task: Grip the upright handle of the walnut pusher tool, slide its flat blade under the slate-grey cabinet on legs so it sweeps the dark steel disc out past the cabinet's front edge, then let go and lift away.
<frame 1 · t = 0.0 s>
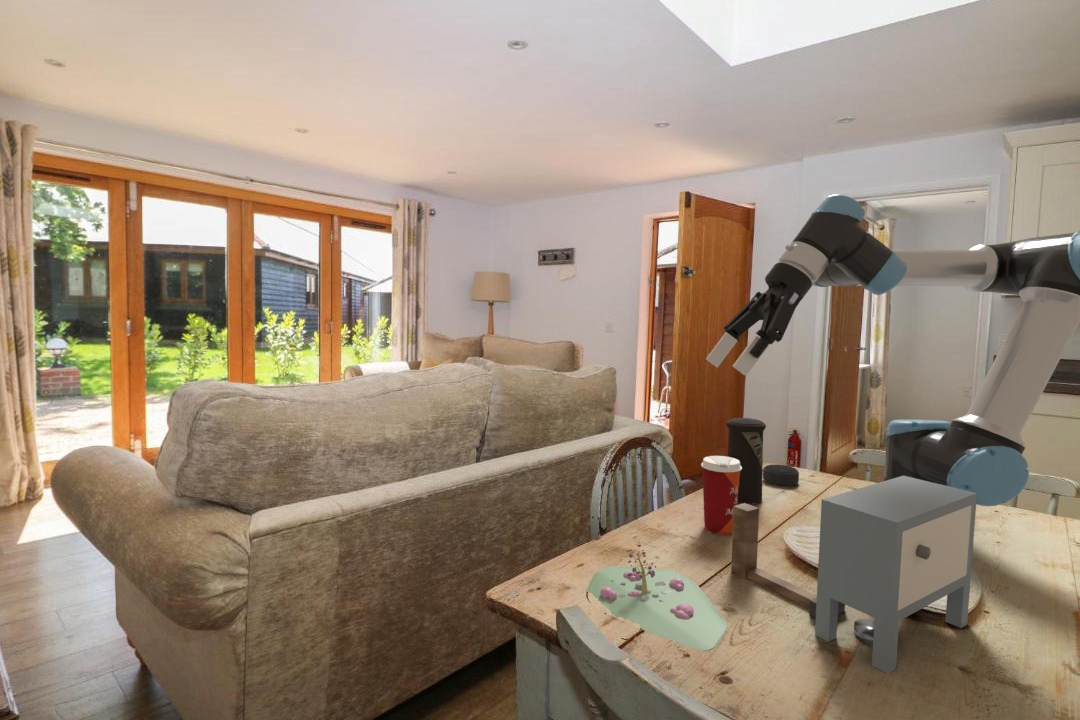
hand: (724, 367, 103), 36 cm above the table, tool tilted 35°, fingers open, 13 cm apart
cabinet: (892, 629, 82), on the table
pusher tool: (743, 572, 99), on the table
miniature garden model: (659, 608, 89), on the table
coffee cup: (719, 529, 119), on the table
smart speaker: (780, 483, 152), on the table
steel disc: (873, 638, 80), on the table
container: (743, 499, 138), on the table
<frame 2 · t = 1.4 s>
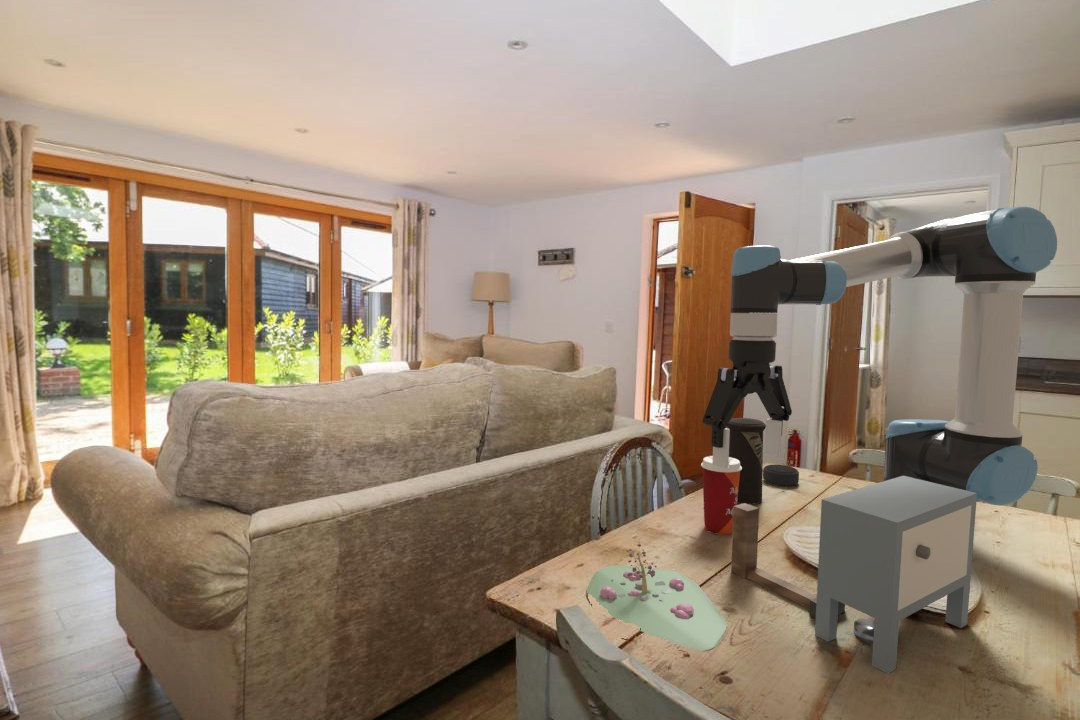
hand: (747, 460, 98), 20 cm above the table, tool pointing down, fingers open, 13 cm apart
nothing on the table moved.
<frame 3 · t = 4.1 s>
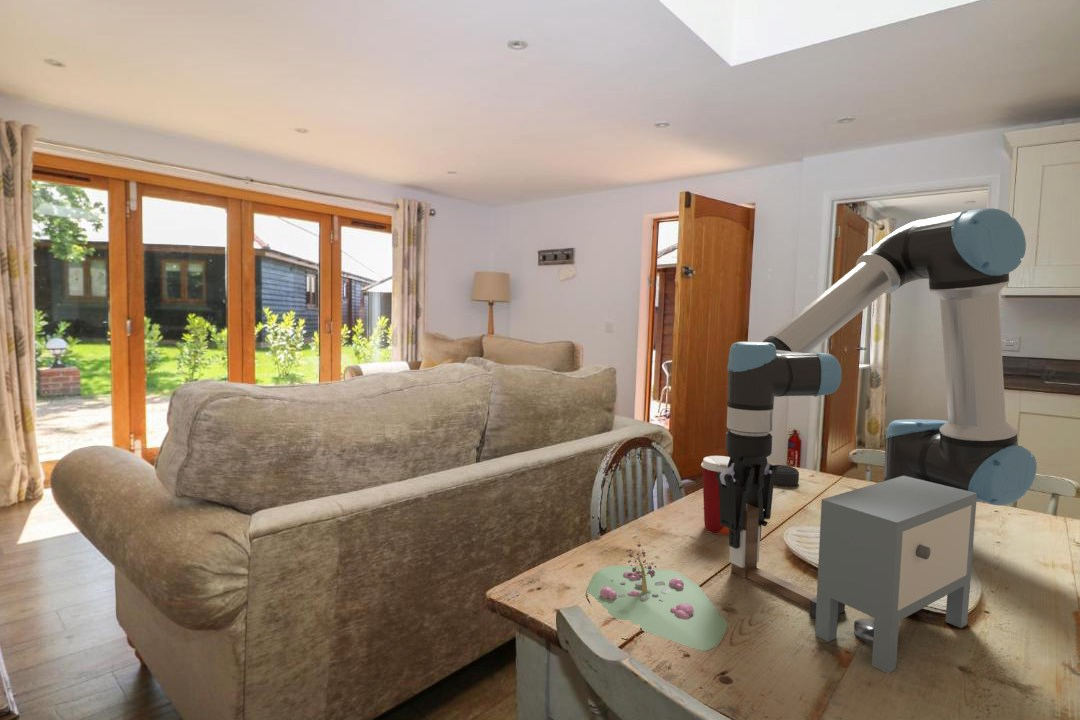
hand: (744, 561, 99), 2 cm above the table, tool pointing down, fingers closed on pusher tool, 3 cm apart
pusher tool: (743, 572, 99), on the table, touching gripper
everything else where it was.
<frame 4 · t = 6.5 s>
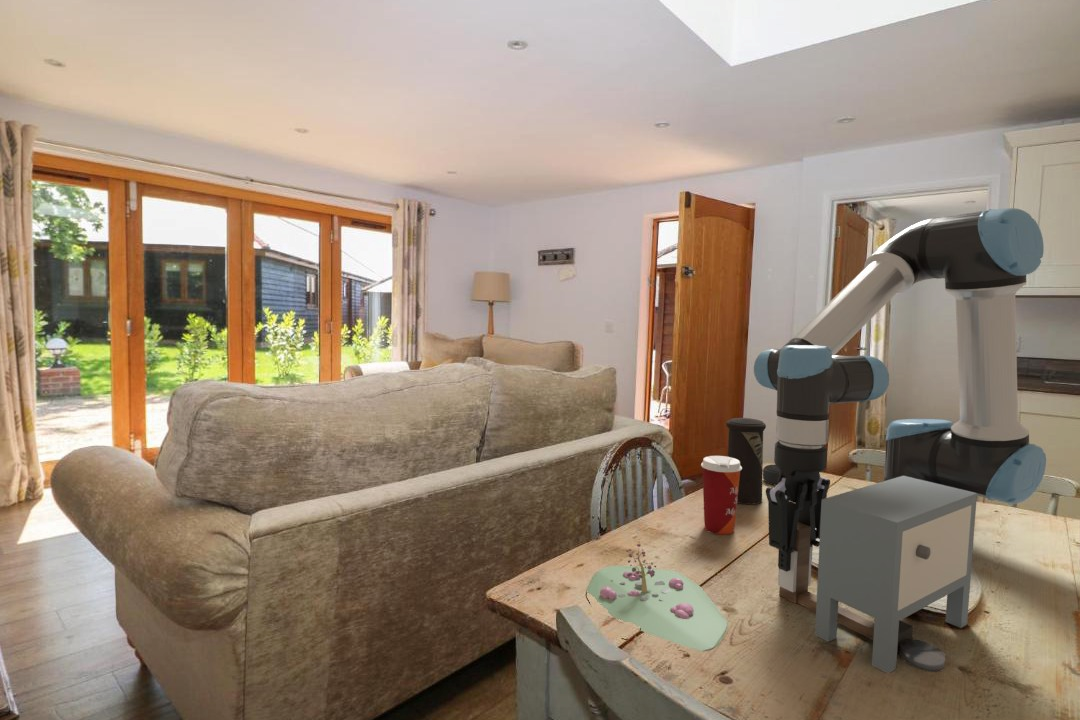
hand: (794, 585, 91), 2 cm above the table, tool pointing down, fingers closed on pusher tool, 3 cm apart
pusher tool: (793, 596, 91), on the table, touching gripper
steel disc: (921, 660, 75), on the table
everything else where it was.
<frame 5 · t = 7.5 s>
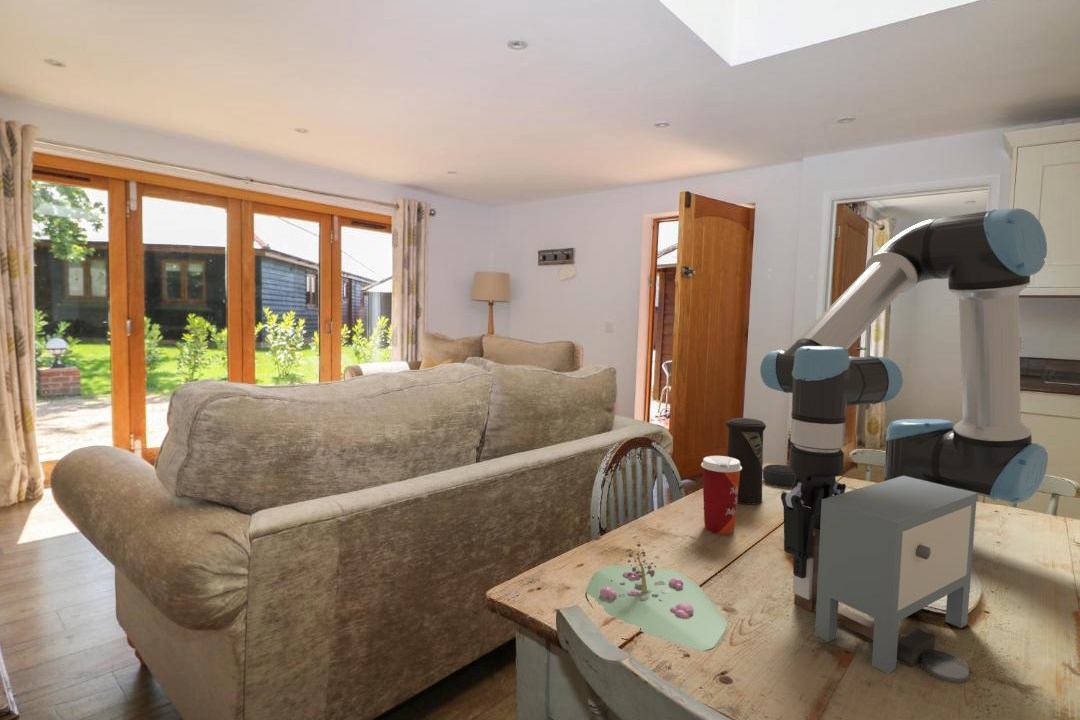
hand: (809, 592, 89), 2 cm above the table, tool pointing down, fingers closed on pusher tool, 3 cm apart
pusher tool: (808, 604, 89), on the table, touching gripper
steel disc: (944, 672, 73), on the table
everything else where it was.
when the fingers open (2 cm above the table, at t = 8.3 s): pusher tool stays where it is, on the table.
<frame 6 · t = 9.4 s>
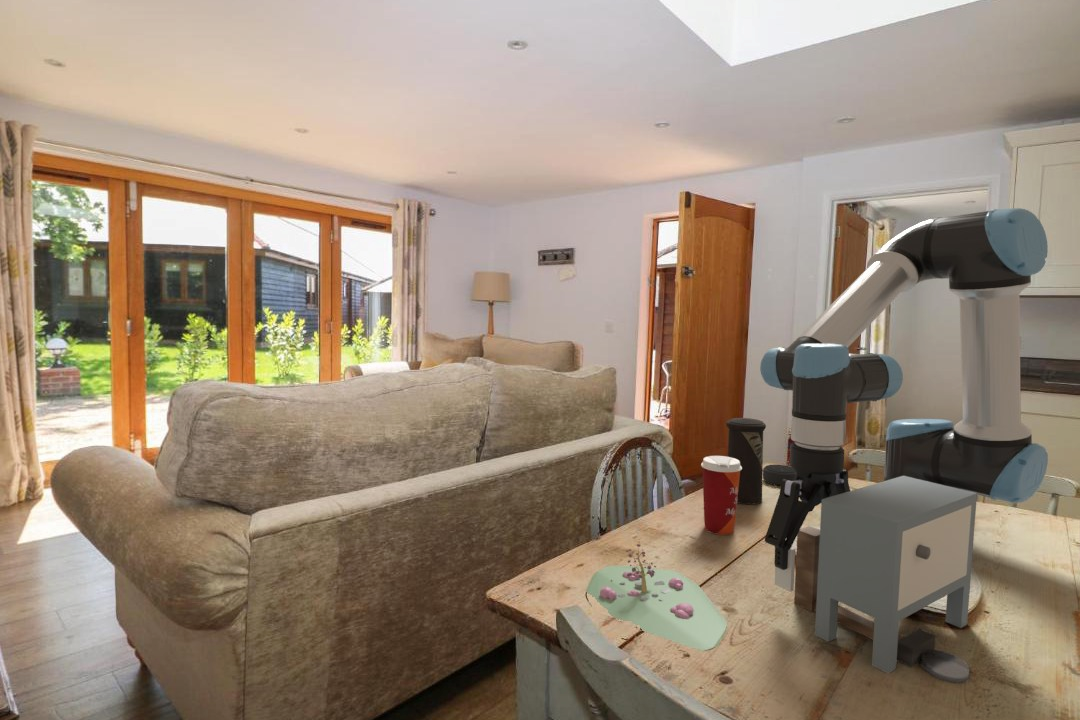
hand: (811, 576, 89), 5 cm above the table, tool pointing down, fingers open, 13 cm apart
pusher tool: (808, 604, 89), on the table
everything else where it was.
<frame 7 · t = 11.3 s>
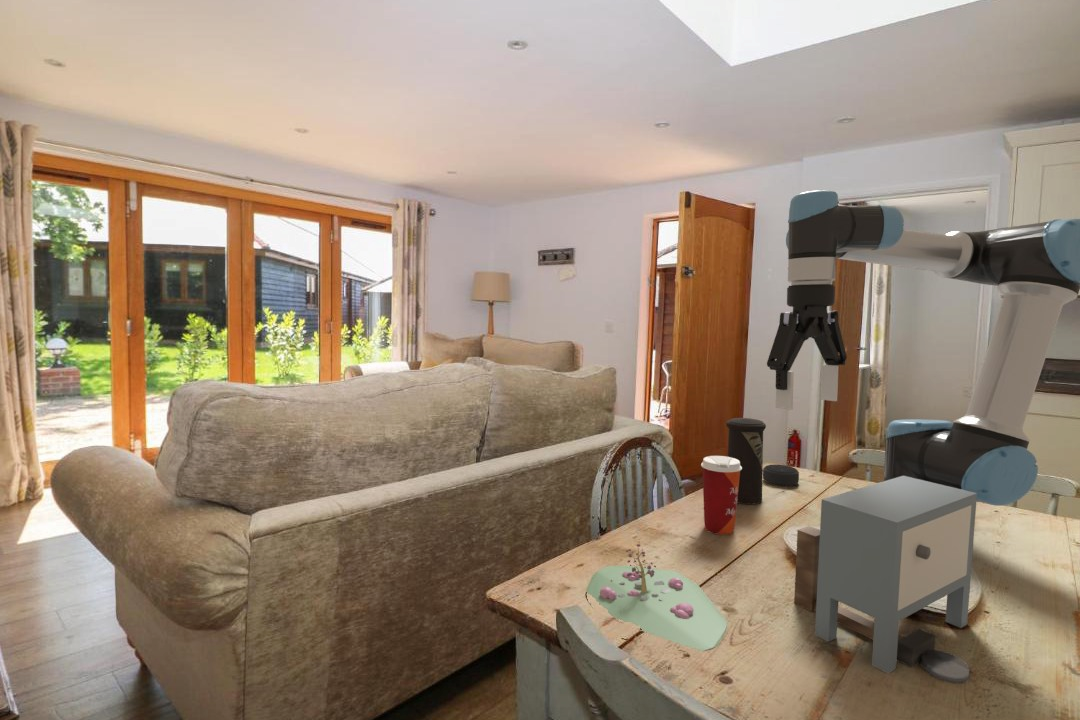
hand: (807, 404, 100), 30 cm above the table, tool pointing down, fingers open, 13 cm apart
nothing on the table moved.
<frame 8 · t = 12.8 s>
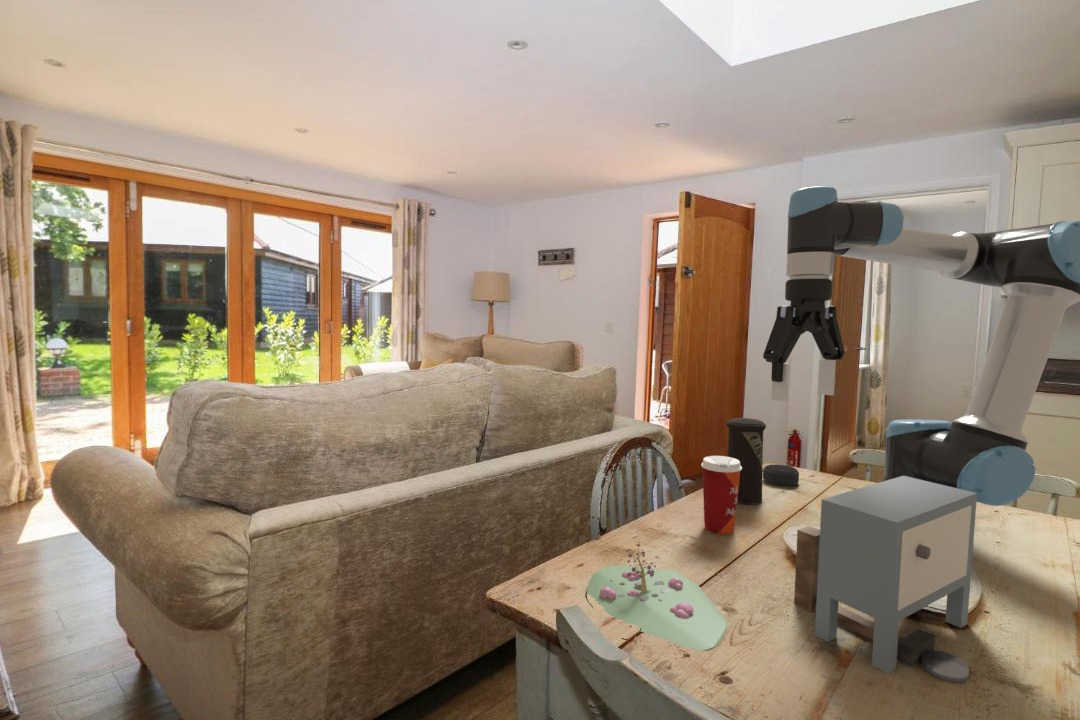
hand: (803, 397, 101), 31 cm above the table, tool pointing down, fingers open, 13 cm apart
nothing on the table moved.
at the end: steel disc inside the target area (2.6 cm from its centre), on the table; steel disc touching table; pusher tool moved 12.4 cm from its start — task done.
